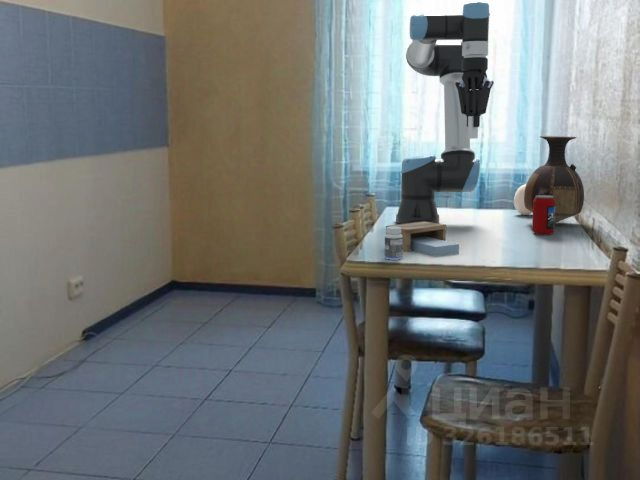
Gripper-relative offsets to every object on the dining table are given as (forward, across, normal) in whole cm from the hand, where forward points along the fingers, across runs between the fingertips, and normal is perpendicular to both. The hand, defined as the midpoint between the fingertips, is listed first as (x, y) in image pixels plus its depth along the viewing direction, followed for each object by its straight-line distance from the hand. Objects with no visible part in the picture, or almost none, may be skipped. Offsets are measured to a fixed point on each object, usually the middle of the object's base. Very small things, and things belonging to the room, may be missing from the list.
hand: (472, 138), depth 226 cm
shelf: (+30, -1, -22) cm, 38 cm away
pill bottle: (+31, +8, -39) cm, 50 cm away
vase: (+31, -2, +44) cm, 54 cm away
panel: (+31, +6, -23) cm, 39 cm away
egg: (+31, -23, +56) cm, 68 cm away
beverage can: (+31, +8, +25) cm, 40 cm away
